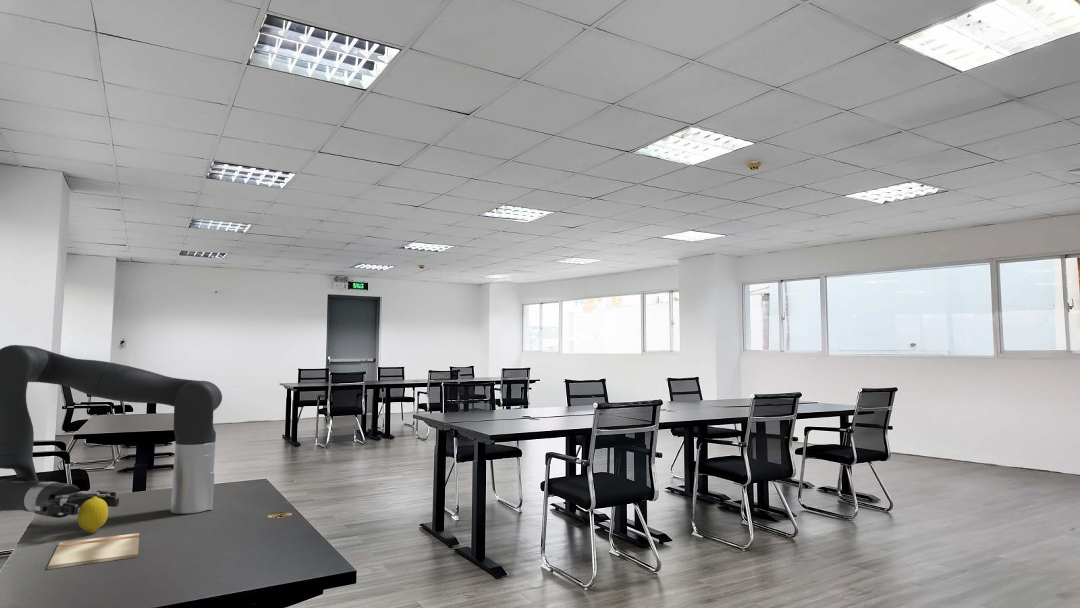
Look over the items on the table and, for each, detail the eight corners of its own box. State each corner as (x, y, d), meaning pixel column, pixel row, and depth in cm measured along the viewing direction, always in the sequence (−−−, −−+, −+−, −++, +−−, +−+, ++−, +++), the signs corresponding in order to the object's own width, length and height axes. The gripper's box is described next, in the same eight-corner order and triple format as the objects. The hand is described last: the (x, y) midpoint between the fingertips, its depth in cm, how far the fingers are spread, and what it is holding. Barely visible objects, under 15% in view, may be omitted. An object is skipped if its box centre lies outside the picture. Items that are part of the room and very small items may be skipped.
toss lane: (139, 534, 134) (139, 532, 134) (137, 557, 119) (137, 554, 119) (59, 544, 127) (59, 541, 127) (47, 569, 112) (47, 566, 112)
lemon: (90, 537, 132) (93, 499, 133) (69, 535, 133) (72, 498, 134) (113, 530, 137) (115, 494, 138) (92, 528, 138) (95, 493, 139)
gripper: (18, 488, 135) (63, 494, 129) (86, 477, 148) (130, 483, 142) (15, 522, 135) (60, 531, 128) (84, 508, 148) (128, 515, 141)
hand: (97, 505), depth 135 cm, fingers open, 8 cm apart
